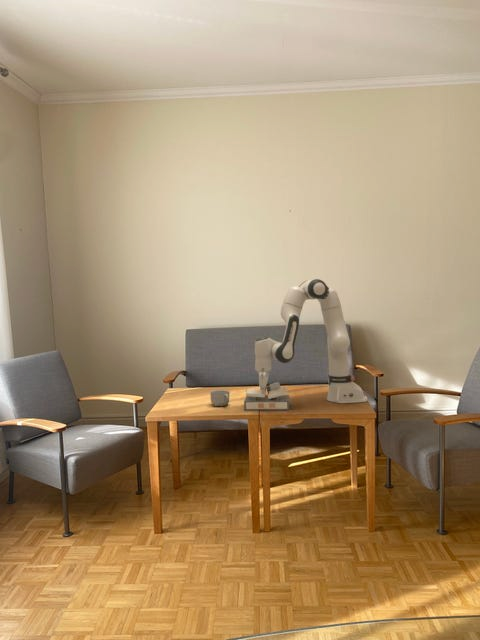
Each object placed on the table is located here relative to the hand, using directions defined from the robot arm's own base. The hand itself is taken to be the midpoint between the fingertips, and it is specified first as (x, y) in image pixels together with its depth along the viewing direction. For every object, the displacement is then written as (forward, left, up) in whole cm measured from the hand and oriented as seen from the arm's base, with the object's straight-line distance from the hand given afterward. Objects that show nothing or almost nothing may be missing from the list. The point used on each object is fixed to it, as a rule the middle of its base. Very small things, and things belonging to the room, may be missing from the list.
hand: (263, 391), depth 300 cm
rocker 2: (-8, 0, -1) cm, 8 cm away
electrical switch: (-5, -20, -9) cm, 22 cm away
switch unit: (-2, 0, -9) cm, 9 cm away
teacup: (+24, -4, -9) cm, 26 cm away
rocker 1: (+4, 0, -1) cm, 5 cm away
